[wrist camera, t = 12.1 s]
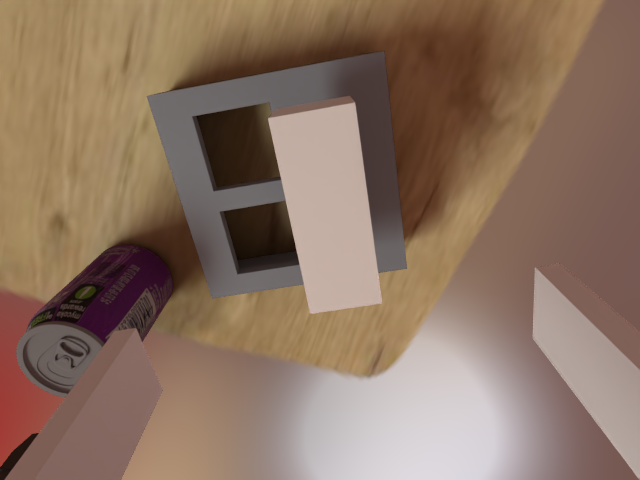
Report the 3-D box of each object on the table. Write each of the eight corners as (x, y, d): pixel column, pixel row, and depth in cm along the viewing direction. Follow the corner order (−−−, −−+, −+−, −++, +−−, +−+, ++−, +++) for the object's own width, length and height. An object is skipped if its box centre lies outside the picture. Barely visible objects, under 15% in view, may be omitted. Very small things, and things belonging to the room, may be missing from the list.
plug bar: (285, 97, 32) (267, 118, 21) (342, 86, 32) (355, 102, 21) (313, 237, 37) (310, 313, 26) (363, 229, 37) (382, 303, 26)
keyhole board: (223, 272, 39) (211, 298, 34) (168, 91, 32) (146, 96, 28) (397, 245, 38) (406, 268, 33) (376, 51, 31) (384, 51, 27)
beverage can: (116, 226, 37) (29, 299, 26) (188, 267, 38) (136, 352, 27) (85, 284, 39) (-7, 374, 28) (155, 321, 41) (94, 418, 30)
